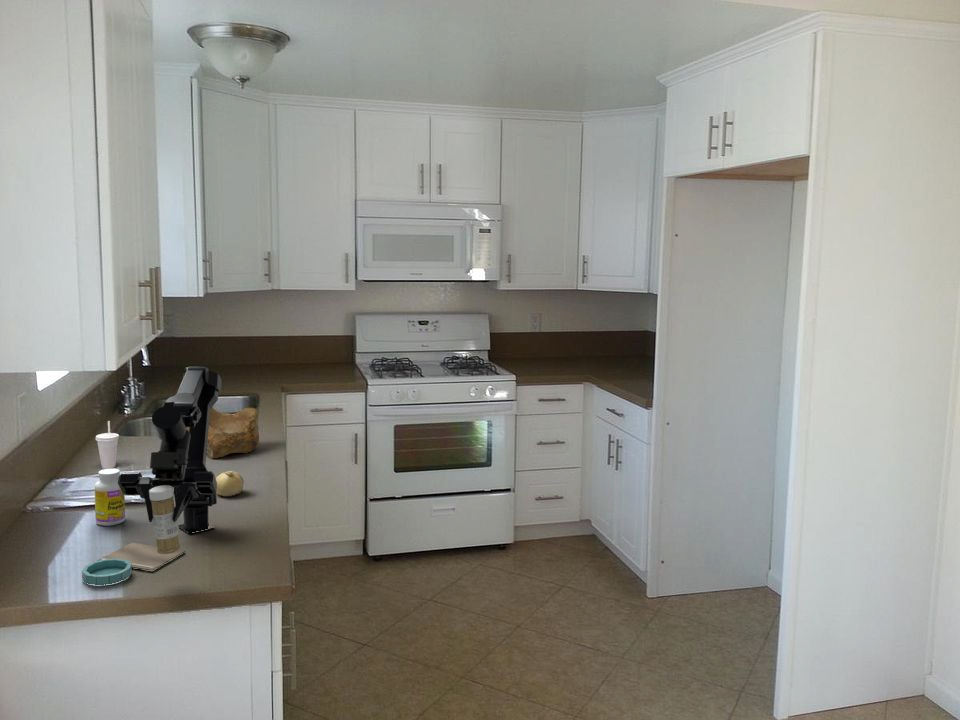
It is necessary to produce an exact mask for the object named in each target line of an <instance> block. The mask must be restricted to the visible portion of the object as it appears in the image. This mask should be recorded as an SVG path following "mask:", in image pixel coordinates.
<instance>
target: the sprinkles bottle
mask: <svg viewBox="0 0 960 720" xmlns="http://www.w3.org/2000/svg"><path fill="white" fill-rule="evenodd" d="M149 496H150V500H151V503H152V511H153V520H152V523H153V528H154V530H153V531H154V537H155V541H156V546H157V553H159V554H171V553H174V552H176V551H178V550H181V549H180V548H181V545H180V542H179V530H178V522H177V521H178V520H177V521H176V522H174V521H173V514H174V509H175V499H174V487H172V486H169V485H163V486H157V487H154V488H152V489H150V491H149Z"/></svg>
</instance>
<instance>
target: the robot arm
mask: <svg viewBox="0 0 960 720" xmlns="http://www.w3.org/2000/svg"><path fill="white" fill-rule="evenodd" d="M222 385H223V384H222V378H221V376H220V374H219V373H218V372H215V371H213V370H209V368H208V367H205V366H191V365H190V366H188V367H187V366H186V367H184V372H183V375H182V381H181V383H180V385H179V388H178V390H177V391H176V394H175V395H172V396H169V397H168V398H167V399H166V401H164V402H163V403H164V404H163V406H161V407H159V408H158V409H156V410H155V411H154V412H153V414H152V415H151V422H152V425H153V427H154V429H155V432H156V434H157V437H158V439H160V440H161V441H160V447H159V450H158V451H153V452H151V453H150V463H149V469H151V474H152V475H154V477H150V476H143V475H142V472H141V471H123V472H122V473H120V476H119V479H118V485H119V487H120V489H121V491H122V493H123V494H124V495H125V496H139V497H140V499H143V500H144V501H145V506H146V507H145V508H146V513H147V518H148V521H149V523H153V511H152V503H151V500H150V496H149V491H150V489H152V488H154V487H157V486H163V485H169V486H172V487H173V492H174V497H173V499H174V506H175V509H174V514H173V521H174V522H176V521H178V519H179V518H180V517H181V514H183V515H182V516H183V523H181V524H179V525H178V524H177V528H178V527H180V528H181V529H183V530H184V531H183V530H182V531H183V532H185V531H186V532H188V533H192V532H196V531H201V530H205V529H208V526H209V523H210V522H209V507H213V506H214V505H217V504H218V501H217V498H218V497H217V493H216V490H217V481H216V475H215V474H214V472H213V471H212V470H211V471H209V470H208V469H207V467H206V463H207V441H208V430H209V418H210V409H211V408H212V407H213V408H214V406H215V404H216V403H217V402H218V400H219V393H220V392H221V390H222ZM186 427H190V428H189V431H188V430H186ZM180 528H179V529H180ZM181 529H180V530H181ZM186 532H185V533H186ZM188 533H187V534H188Z"/></svg>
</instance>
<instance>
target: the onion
mask: <svg viewBox="0 0 960 720" xmlns="http://www.w3.org/2000/svg"><path fill="white" fill-rule="evenodd" d="M215 478H216V481H217V490H216V495H219V496H221V495H222V496H221V497H231V496H230V495H233V496H236V495H235V494H237V495H239V494H240V493H241V492H242V491H243V489H244V485H245V481H244V479H243V477H242V475H241V474H240V473H238V472H236V471H234V470H228V471H224V472H222V473H220V474H219V475H217V476H215ZM238 493H239V494H238Z"/></svg>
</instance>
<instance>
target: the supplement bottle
mask: <svg viewBox="0 0 960 720" xmlns="http://www.w3.org/2000/svg"><path fill="white" fill-rule="evenodd" d="M120 475H121V471H120V469H118V468H110V469H104V468H103V469H101V470H99V471H98V478H99V480H97V482H95V484H94V507H95V508H94V509H95V510H94V512H95V515H94V516H95V523H96V524H97V525H99V526H105V527H106V526H107V527H108V526H109V527H111V526H116V525H119V524H121V523H124V522H125V519H126V499H125V498H126V495H124V494H123V493H122V491H121V489H120V487H119V485H118V479H119V476H120Z"/></svg>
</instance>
